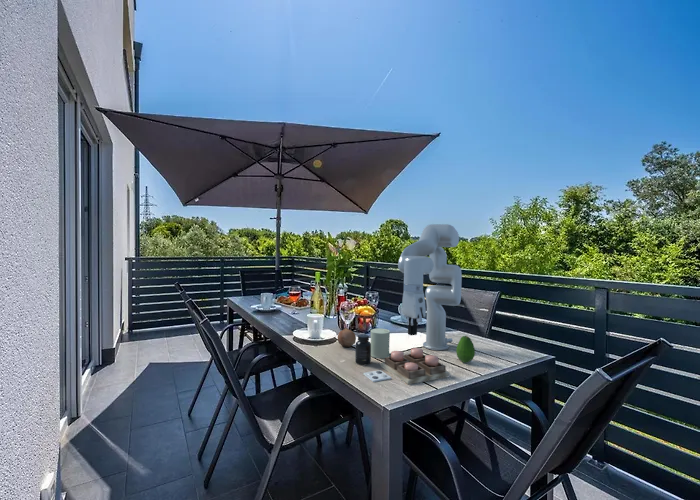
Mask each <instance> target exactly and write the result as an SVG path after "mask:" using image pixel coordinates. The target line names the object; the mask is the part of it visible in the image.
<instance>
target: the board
mask: <svg viewBox="0 0 700 500" xmlns="http://www.w3.org/2000/svg"><path fill="white" fill-rule="evenodd" d="M425 356H426V355H425V354H423V357H422V358H414V357H412V356H411V353H405V354H404V360H402V361H394V360H392V359H391V356H389V357H386V358H384V362H381V363H380V367H381V368H382V369H384V370H385V371H386V372H388V373H390V374H392V375H393V376H394V377H396V378H398V379H399V380H400V381H401V382H403V383H405V384H407V385H411V384H419V383H422V382H427V381H432V380H433V381H434V380H437V379H444V378H448V376H449V377H450V372H449V371H447V370H446V369H447V365H445V364H443V363H441V362H439V361H438V365H437V366H430V365H427V364H425ZM408 362H412V363H416V364H418V370H414V371H408V370H406V369H405V363H408Z"/></svg>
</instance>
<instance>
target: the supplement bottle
mask: <svg viewBox="0 0 700 500" xmlns="http://www.w3.org/2000/svg"><path fill="white" fill-rule="evenodd" d="M369 336H370V335H368V334H363V333H362V334H358V335H357V341H356V342H355V351H354V353H355V358H354V359H355V363H356V364H357V365H359V366H368V365H370V364H371V363H372V361H371V360H372V356H371V341H369V340H370V337H369Z"/></svg>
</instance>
